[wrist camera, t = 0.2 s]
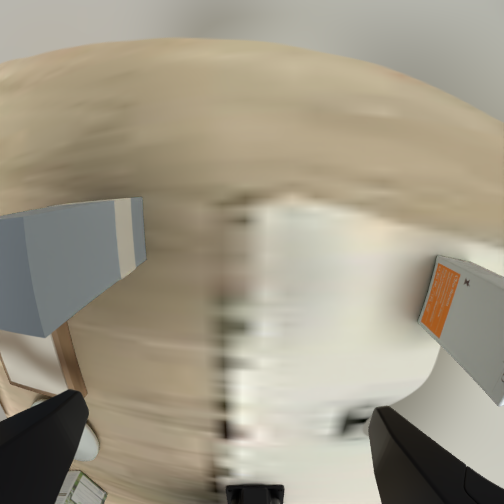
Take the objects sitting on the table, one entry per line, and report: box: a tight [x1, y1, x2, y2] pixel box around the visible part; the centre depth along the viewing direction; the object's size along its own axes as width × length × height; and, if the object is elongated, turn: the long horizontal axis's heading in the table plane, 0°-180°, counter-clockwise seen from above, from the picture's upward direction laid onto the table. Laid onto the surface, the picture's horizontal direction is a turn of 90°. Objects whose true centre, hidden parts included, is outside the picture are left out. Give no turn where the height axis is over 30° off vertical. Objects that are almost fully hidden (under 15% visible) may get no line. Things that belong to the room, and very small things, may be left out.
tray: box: [0, 321, 87, 397], centre depth 22 cm, size 10×10×2 cm
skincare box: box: [418, 255, 504, 406], centre depth 16 cm, size 6×4×12 cm
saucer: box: [31, 399, 99, 461], centre depth 25 cm, size 9×9×2 cm
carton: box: [0, 197, 147, 338], centre depth 15 cm, size 5×5×12 cm
